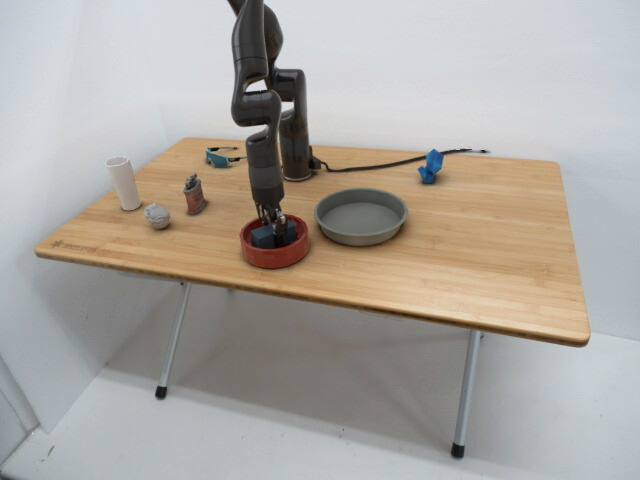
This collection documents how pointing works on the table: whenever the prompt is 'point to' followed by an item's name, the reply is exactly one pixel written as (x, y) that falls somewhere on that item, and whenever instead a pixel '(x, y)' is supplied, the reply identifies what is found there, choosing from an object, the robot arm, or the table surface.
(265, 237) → the blue rectangular block
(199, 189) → the lighter
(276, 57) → the robot arm
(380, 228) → the cake pan
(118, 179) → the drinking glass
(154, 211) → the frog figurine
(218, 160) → the sunglasses
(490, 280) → the table surface
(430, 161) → the crystal
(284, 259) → the bowl
